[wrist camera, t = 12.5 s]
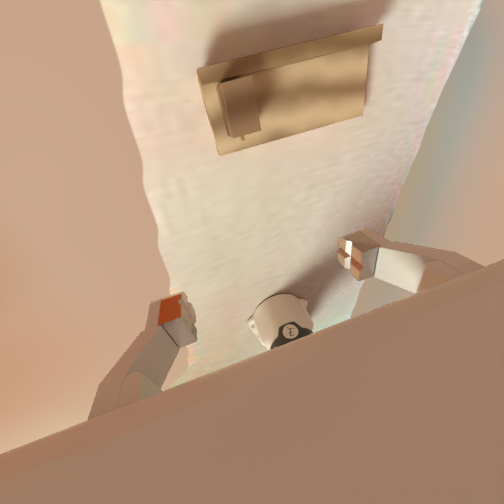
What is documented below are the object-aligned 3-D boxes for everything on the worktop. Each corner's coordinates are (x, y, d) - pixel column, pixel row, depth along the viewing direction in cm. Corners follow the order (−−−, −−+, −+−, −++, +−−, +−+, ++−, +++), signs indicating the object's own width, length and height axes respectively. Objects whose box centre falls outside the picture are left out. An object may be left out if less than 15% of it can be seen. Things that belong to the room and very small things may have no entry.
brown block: (253, 136, 34) (262, 139, 29) (229, 143, 33) (235, 146, 29) (243, 81, 29) (252, 75, 25) (216, 87, 29) (221, 83, 25)
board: (355, 115, 38) (373, 115, 34) (218, 154, 35) (222, 158, 32) (361, 34, 32) (383, 23, 28) (196, 74, 29) (197, 68, 26)
